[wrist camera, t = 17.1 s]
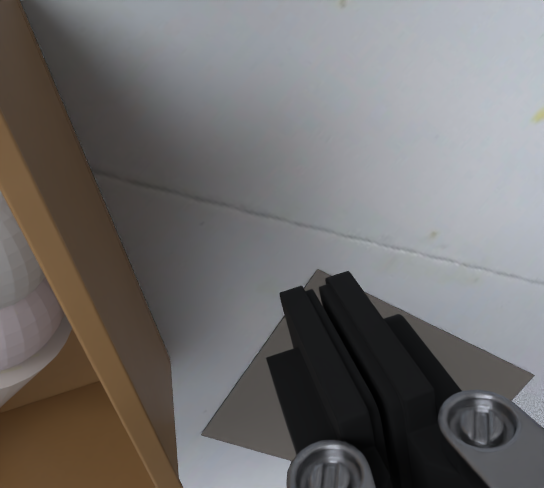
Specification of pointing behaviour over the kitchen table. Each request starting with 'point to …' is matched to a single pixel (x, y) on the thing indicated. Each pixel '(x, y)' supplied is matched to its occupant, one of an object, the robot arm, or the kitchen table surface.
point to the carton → (103, 289)
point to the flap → (79, 305)
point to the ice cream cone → (25, 311)
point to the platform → (257, 379)
